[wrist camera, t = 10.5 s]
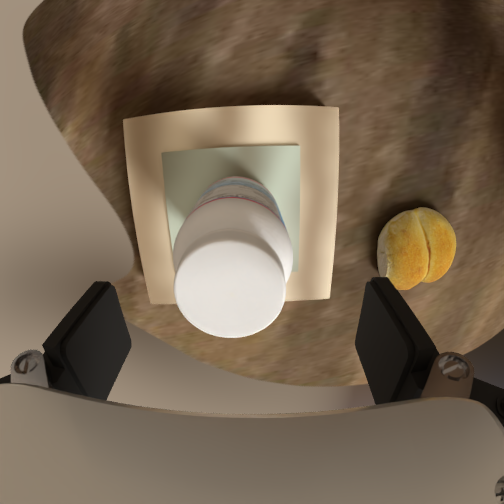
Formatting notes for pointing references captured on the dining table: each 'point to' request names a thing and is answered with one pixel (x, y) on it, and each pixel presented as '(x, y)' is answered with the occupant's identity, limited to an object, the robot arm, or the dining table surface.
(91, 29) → the dining table surface
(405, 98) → the dining table surface
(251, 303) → the pill bottle
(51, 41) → the dining table surface
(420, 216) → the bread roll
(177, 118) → the birch plinth
